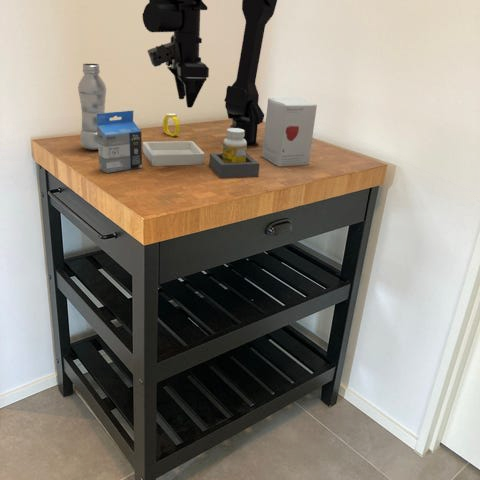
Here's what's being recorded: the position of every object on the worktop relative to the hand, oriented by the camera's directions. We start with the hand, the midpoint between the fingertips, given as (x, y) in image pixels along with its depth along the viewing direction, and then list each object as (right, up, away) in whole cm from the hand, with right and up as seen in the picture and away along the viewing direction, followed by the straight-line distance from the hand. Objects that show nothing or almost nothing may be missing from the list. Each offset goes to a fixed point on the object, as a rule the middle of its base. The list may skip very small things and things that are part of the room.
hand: (185, 103), depth 122 cm
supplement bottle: (+11, -16, -1) cm, 20 cm away
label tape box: (-14, -16, -5) cm, 22 cm away
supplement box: (+24, -12, +9) cm, 29 cm away
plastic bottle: (-23, -10, +7) cm, 26 cm away
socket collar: (+11, -16, -1) cm, 20 cm away
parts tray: (-3, -12, +5) cm, 13 cm away
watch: (-6, -3, +24) cm, 25 cm away
